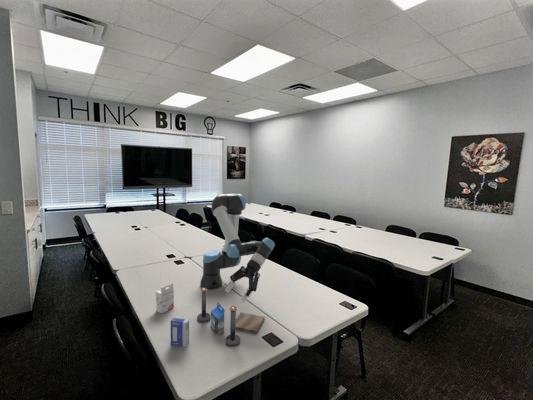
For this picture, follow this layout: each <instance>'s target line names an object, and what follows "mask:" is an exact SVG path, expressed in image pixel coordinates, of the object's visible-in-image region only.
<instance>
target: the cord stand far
mask: <svg viewBox="0 0 533 400" xmlns="http://www.w3.org/2000/svg"><path fill="white" fill-rule="evenodd" d="M207 291H208V289H207V288H202V287H201V289H200V292H201V313H199V314H198V315H197V316H196V320H197V322H199V323H207V322H210V321H211V313H208V312H207Z"/></svg>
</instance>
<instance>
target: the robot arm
mask: <svg viewBox="0 0 533 400" xmlns="http://www.w3.org/2000/svg"><path fill="white" fill-rule="evenodd" d="M246 204H247V203H246V199H245V197H244V196H243V195H242V194H241V193H225V194H224V193H221V194H218V195H216V196H215V197H214V198H213V200H212V202H211V205H210V207H211V208H210V209H211V212H212V215H213V216H214V217H215V218H216V220H217V222H218V224H219V227H220V230H221V232H222V233H223V236H224V246H223V247H222V249H221V251H219V250H209V251H207V252H206V253H205V252H204V254H203V258H202V266H203V267H202V276H201V280H200V282H199V283H200V284H199V285H200V287H201V288H207V290H215V289H218V288H219V289H220V288H221V287H222V286H223V279H222V276H221V270H224V269H229V268H234V267H238V266H239V265H240V263H241V261H242V257H245V256H251V258H250V259H249V261H248V262H247V264H246V266H244V265H241V267H240V268H239V269H238V270H236V271H235V272H234V273H232V274H231V275H230V276H229V279H230V281H229V282H228V284H227V286H226V288H225V289H224V291H225V292H226V293H227V294H229V293H230V292H231V290H232V288H234V285H235V284H236V282H237V281H239V280H241V279H242V278H247V279H248V287H247V288H246V290H245V292H244V293H243V294H242V296H241V298H240V299H239V300H240V301H241V302H242V303H245V302H246V300H247V299H248V298H249V297H250V295H251V294H252V292H256V291H257V288H258V283H259V280H260V276H261V274H260V273H259V272H260V269H262V267H263V265H264V264H265V262H266V260H267V259H268V258H269V256H270V254H271V253H272V252H273V249H274V247H276V246H275V245H276V244H275V242H274V240H272V239H270V238H268V237H265V238H263V239H262V241H257V240H250V241H248V242H242V241H241V240H240V237H239V235H238V234H239V224H240V223H239V220H240V216H241V215H242V211H244V210H245V209H246V207H247V206H246Z"/></svg>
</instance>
